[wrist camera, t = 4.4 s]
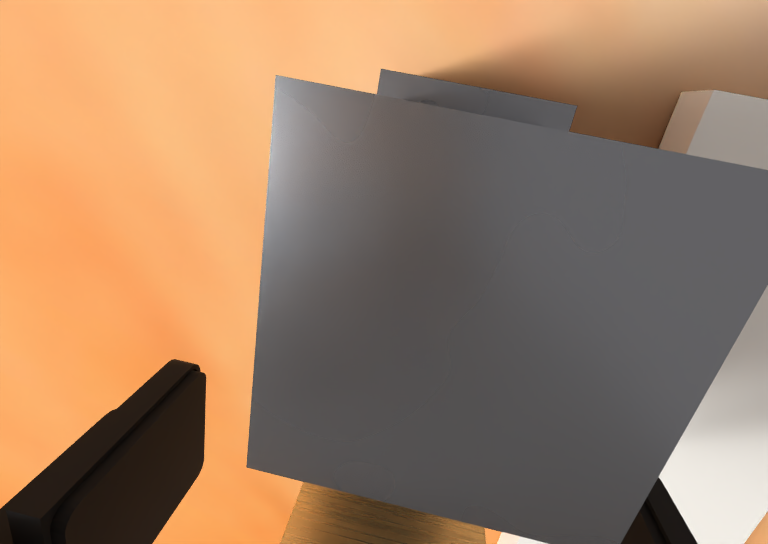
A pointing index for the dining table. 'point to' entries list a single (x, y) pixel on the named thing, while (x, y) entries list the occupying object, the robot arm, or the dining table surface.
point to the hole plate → (742, 365)
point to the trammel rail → (490, 304)
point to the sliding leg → (369, 522)
